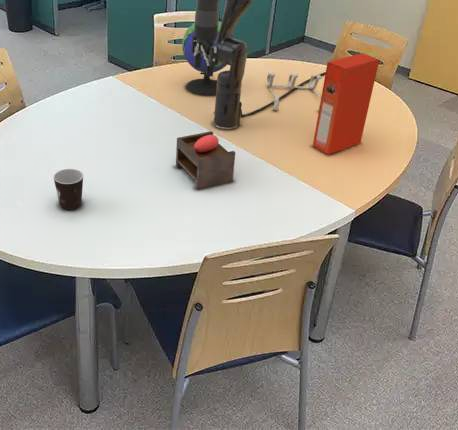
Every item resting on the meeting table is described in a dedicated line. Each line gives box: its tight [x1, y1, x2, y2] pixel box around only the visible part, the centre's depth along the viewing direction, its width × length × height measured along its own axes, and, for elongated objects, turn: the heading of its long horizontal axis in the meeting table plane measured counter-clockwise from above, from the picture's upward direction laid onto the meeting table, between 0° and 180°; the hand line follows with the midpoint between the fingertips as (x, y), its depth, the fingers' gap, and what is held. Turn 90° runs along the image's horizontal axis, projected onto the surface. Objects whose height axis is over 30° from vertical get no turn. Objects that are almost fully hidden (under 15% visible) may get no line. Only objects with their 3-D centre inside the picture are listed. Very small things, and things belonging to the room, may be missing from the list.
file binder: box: [312, 53, 380, 155], centre depth 207 cm, size 8×17×32 cm, turn 125°
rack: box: [175, 130, 236, 191], centre depth 192 cm, size 13×16×11 cm
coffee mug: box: [53, 168, 84, 212], centre depth 173 cm, size 12×9×10 cm
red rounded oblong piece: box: [194, 134, 220, 153], centre depth 189 cm, size 5×9×6 cm, turn 120°
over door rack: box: [266, 72, 322, 111], centre depth 247 cm, size 22×29×10 cm
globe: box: [181, 18, 235, 97], centre depth 247 cm, size 22×22×30 cm
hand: (203, 71), depth 195 cm, fingers open, 8 cm apart
